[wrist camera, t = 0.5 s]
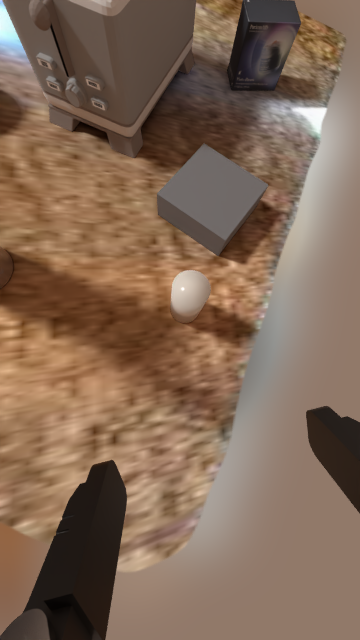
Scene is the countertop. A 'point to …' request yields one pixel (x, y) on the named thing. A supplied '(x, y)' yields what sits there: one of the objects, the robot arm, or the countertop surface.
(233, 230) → the plinth
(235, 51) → the small box
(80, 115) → the toaster
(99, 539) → the robot arm
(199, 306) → the beige piece
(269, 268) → the countertop surface
